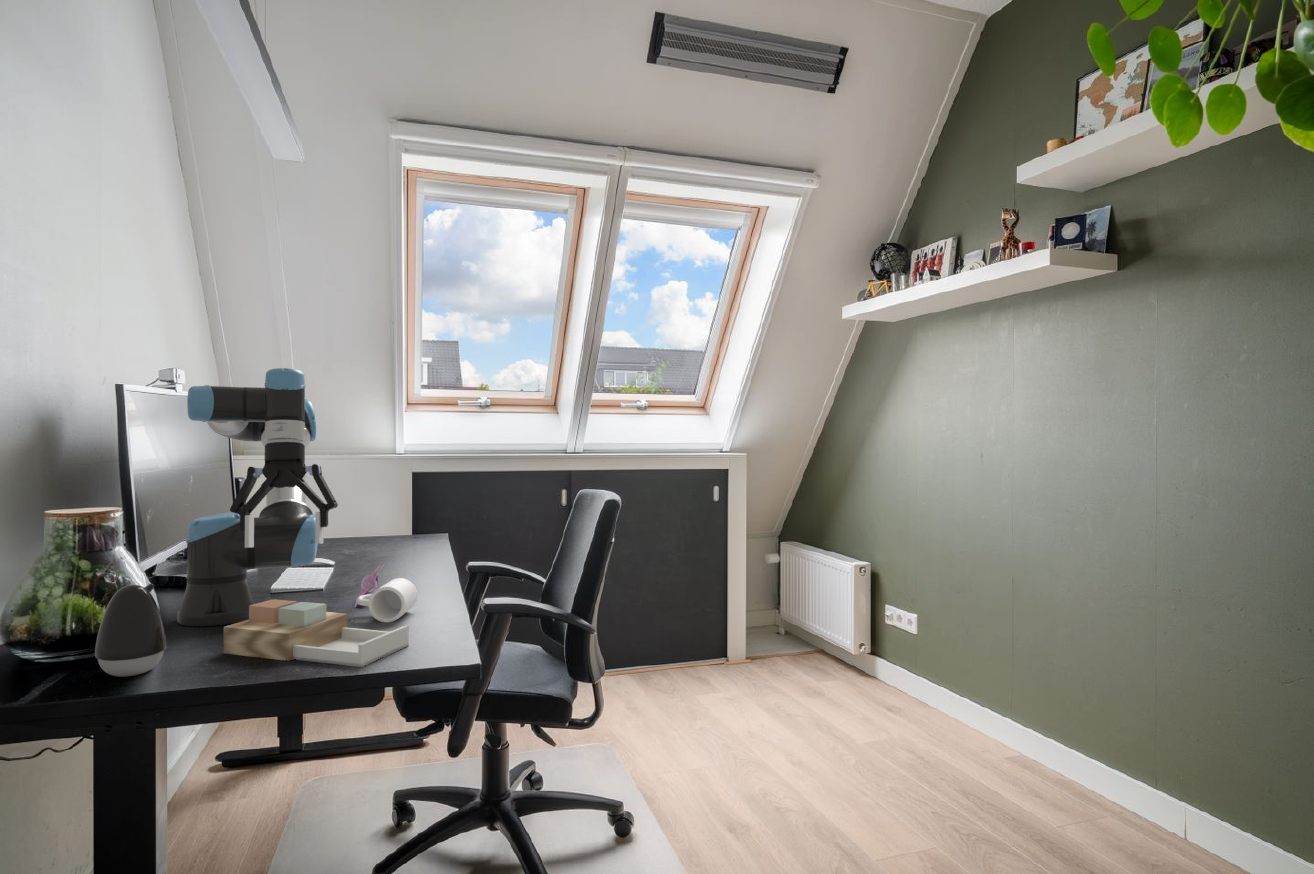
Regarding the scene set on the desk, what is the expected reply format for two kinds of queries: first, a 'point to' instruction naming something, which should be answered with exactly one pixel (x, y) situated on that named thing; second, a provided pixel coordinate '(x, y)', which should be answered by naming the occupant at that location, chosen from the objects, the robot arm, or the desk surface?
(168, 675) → the desk surface
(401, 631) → the tray
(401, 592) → the mug
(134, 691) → the desk surface
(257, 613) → the tile terracotta
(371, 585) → the lily
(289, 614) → the tile grey
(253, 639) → the oak board
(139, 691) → the desk surface
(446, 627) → the desk surface
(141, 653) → the grey egg-shaped pod
